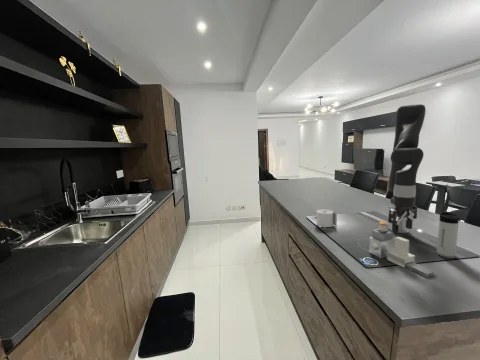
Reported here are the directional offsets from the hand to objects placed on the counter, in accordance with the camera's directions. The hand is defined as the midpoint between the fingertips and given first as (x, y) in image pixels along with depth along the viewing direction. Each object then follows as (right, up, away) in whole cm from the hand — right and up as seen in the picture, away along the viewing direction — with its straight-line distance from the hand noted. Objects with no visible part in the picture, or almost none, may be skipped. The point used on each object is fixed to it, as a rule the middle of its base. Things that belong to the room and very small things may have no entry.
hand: (402, 230), depth 91 cm
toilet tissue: (-13, -9, +50) cm, 52 cm away
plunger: (-3, -3, +9) cm, 10 cm away
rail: (+2, -15, -1) cm, 16 cm away
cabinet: (-2, -14, +10) cm, 18 cm away
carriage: (+1, -15, +2) cm, 15 cm away
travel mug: (+25, -13, +6) cm, 29 cm away
